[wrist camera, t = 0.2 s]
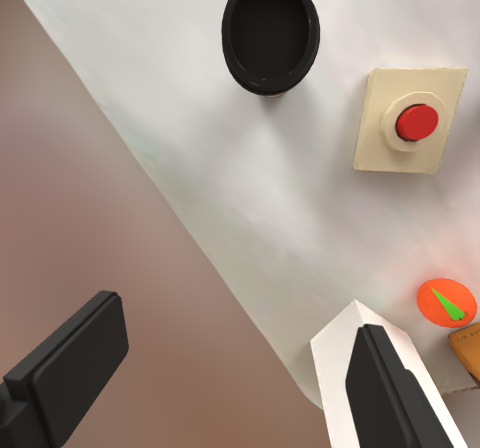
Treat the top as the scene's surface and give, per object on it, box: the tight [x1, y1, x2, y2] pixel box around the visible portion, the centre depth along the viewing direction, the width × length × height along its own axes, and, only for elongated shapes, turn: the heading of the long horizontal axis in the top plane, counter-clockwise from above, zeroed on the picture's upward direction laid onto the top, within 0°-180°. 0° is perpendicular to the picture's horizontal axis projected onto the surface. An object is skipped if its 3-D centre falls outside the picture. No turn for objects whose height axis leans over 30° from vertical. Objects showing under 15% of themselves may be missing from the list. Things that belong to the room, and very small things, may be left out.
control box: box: [352, 68, 468, 174], centre depth 32 cm, size 12×10×4 cm
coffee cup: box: [221, 0, 320, 97], centre depth 27 cm, size 8×8×15 cm
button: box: [397, 105, 439, 140], centre depth 29 cm, size 4×4×2 cm
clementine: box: [417, 278, 477, 328], centre depth 37 cm, size 8×7×7 cm
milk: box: [310, 299, 468, 448], centre depth 34 cm, size 12×12×26 cm
